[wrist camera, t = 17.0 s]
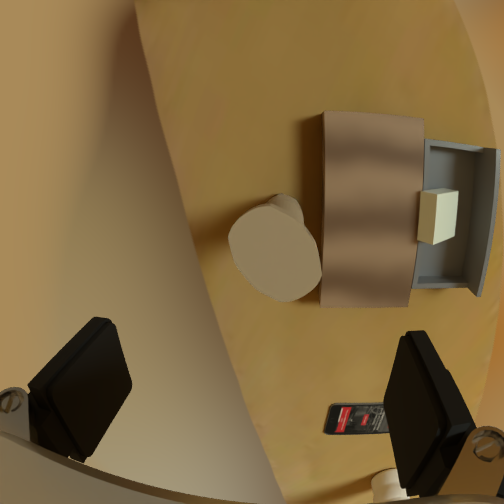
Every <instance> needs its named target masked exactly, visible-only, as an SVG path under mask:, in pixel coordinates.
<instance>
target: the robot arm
mask: <svg viewBox="0 0 504 504" xmlns="http://www.w3.org/2000/svg"><path fill="white" fill-rule="evenodd" d="M28 387H29V389H30V393H29V394H27V393H26V391H25V390H24V389H22V388H19V387H10V388H8V389H5V390H3V391H1V392H0V504H254V503H244V502H235V501H227V500H220V499H213V498H207V497H201V496H195V495H190V494H185V493H180V492H175V491H171V490H166V489H162V488H158V487H154V486H150V485H146V484H143V483H139V482H135V481H132V480H129V479H125V478H122V477H119V476H115V475H112V474H109V473H106V472H103V471H100V470H98V469H95V468H92V467H89V466H87V465H84V464H81V463H84V462H85V460H86V458H87V457H90V456H91V455H92V454H93V452H94V451H95V449H96V447H97V446H98V444H99V442H100V441H101V439H102V437H103V436H104V434H105V432H106V431H107V429H108V427H109V426H110V424H111V422H112V421H113V419H114V418H115V416H116V414H117V413H118V411H119V409H120V408H121V406H122V404H123V403H124V401H125V399H126V398H127V396H128V395H129V393H130V391H131V389H132V380H131V377H130V374H129V371H128V368H127V364H126V362H125V358H124V354H123V351H122V348H121V344H120V340H119V337H118V333H117V329H116V326H115V324H113V323H112V321H111V320H110V319H108V318H101V317H94V318H92V319H91V320H90V321H89V322H88V323H87V324H86V325H85V326H84V327H83V328H82V329H81V330H80V331H79V332H78V333H77V334H76V335H75V336H74V337H73V338H72V339H71V340H70V341H69V342H68V343H67V344H66V345H65V346H64V347H63V348H62V349H61V350H60V351H59V352H58V353H57V354H56V355H55V356H54V357H53V358H52V359H51V360H50V361H49V362H48V363H47V364H46V366H45V367H44V368H43V369H42V370H41V371H40V372H39V373H38V374H37V375H36V376H35V377H34V378H33V379H32V380H31V381H30V383H28ZM383 406H384V411H385V415H386V420H387V424H388V428H389V433H390V438H391V442H392V447H393V452H394V457H395V462H396V467H397V472H398V478H399V483H400V487H401V488H402V489H405V488H406V494H407V497H410V496H415V495H419V497H420V498H413V499H404V500H397V501H389V502H380V503H369V504H504V432H503V431H502V430H500V429H498V428H496V427H492V426H482V427H479V428H477V427H476V425H475V423H474V421H473V419H472V416H471V414H470V412H469V410H468V408H467V406H466V404H465V402H464V399H463V397H462V395H461V393H460V391H459V389H458V387H457V385H456V383H455V381H454V379H453V377H452V375H451V374H450V372H449V371H448V370H447V369H445V367H444V365H443V363H442V361H441V359H440V357H439V355H438V353H437V352H436V350H435V348H434V346H433V344H432V342H431V341H430V339H429V337H428V335H427V333H426V332H425V331H423V330H421V331H408V332H406V334H405V336H401V337H400V340H399V344H398V348H397V352H396V356H395V360H394V364H393V368H392V372H391V375H390V379H389V382H388V386H387V389H386V392H385V396H384V401H383ZM68 456H70V458H71V459H74V460H76V461H79V462H81V463H79V462H76V461H74V460H71V459H69V458H68Z"/></svg>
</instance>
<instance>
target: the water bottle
mask: <svg viewBox="0 0 504 504" xmlns="http://www.w3.org/2000/svg"><path fill="white" fill-rule="evenodd" d="M371 486H372V491H373V503H380V502H389V501H397V500H404V499H409V498H410V497H407V494H406V488H405V489H402V488H401V487H400V483H399V478H398V472H397V468H394V469H388V470H384V471H382V472H380V473H378V474H377V475H375V476H374V477H373V479H372V481H371Z"/></svg>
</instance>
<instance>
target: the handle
mask: <svg viewBox="0 0 504 504" xmlns="http://www.w3.org/2000/svg"><path fill="white" fill-rule="evenodd" d="M228 241H229V245H230V249H231V253H232V256H233V259H234V262H235V264H236V266H237V268H238V269H239V271H240V272H241V273H242V275H243V276H244V277H245V278H246V279H247V281H248V282H249V283H250V284H251V285H252V286H253V287H254V288H255V289H256V290H258V291H259V292H261V293H263V294H265V295H267V296H269V297H271V298H273V299H275V300H277V301H279V302H289V301H294V300H296V299H299V298H301V297H303V296H305V295H306V294H308V293H309V292H310V291H312V290H313V289H314V288H315V287H316V286H317V284H318V282H319V281H320V279H321V276H322V271H321V264H320V258H319V253H318V248H317V245H316V242H315V240H314V238H313V236H312V235H311V233H310V232H309V231H308V229H307V228H306V227H305V225H304V218H303V213H302V210H301V208H300V205H299V204H298V202H297V200H296V199H295V198H292V197H290V196H288V195H284V194H283V193H280V194H278V195H277V196H274V197H272V198H271V199H270V200H268V201H267V202H266V204H260V205H257V206H255V207H253V208H251V209H249V210H248V211H246V212H245V213H244V214H243V215H241V216H240V217H239V218H238V220H237V221H236V222H235V223H234V225H233V226H232V228H231V230H230V232H229V235H228Z"/></svg>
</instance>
